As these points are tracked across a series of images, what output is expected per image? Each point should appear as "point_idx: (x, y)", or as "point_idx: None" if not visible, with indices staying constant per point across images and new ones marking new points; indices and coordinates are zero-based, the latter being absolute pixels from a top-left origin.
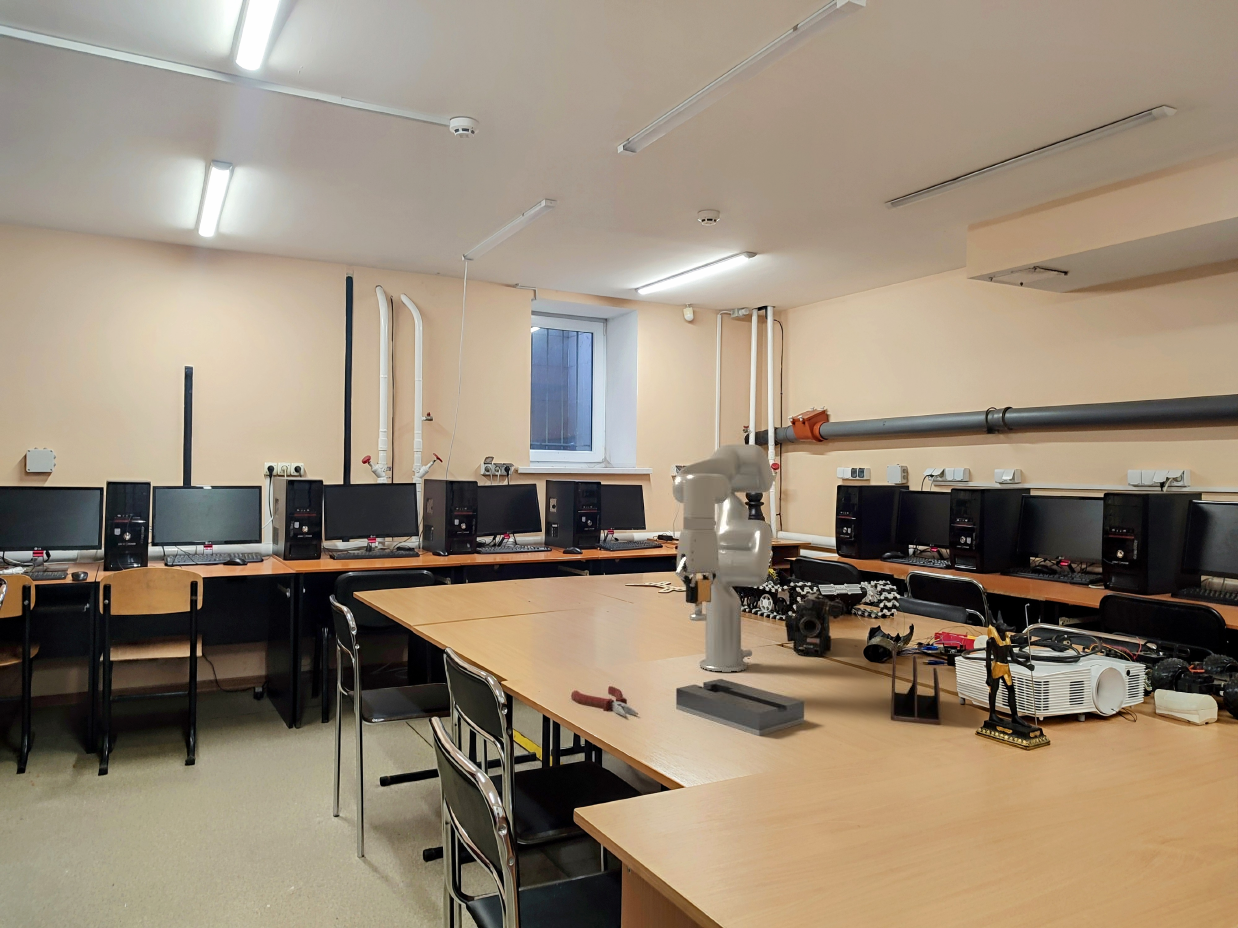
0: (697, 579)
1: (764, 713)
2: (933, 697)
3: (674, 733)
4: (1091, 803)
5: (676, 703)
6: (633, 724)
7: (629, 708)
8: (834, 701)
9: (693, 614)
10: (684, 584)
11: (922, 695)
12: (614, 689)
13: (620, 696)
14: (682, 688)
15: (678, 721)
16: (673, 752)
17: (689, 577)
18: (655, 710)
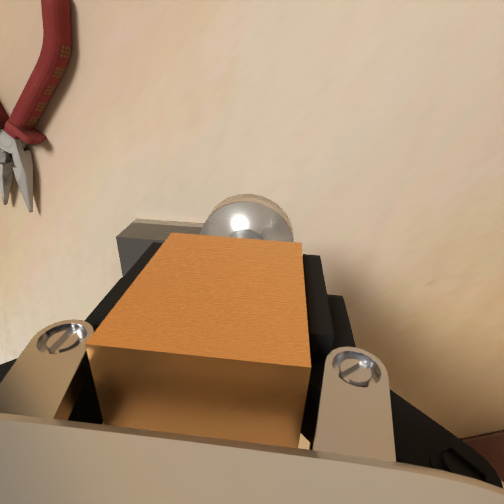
0: (199, 416)
1: None
2: None
3: (54, 306)
4: None
5: (131, 223)
6: (11, 233)
7: (20, 186)
8: (420, 378)
9: (226, 229)
10: (47, 337)
11: None
12: (45, 28)
13: (30, 107)
14: (128, 246)
15: (93, 273)
16: (14, 349)
17: (70, 413)
18: (91, 198)
